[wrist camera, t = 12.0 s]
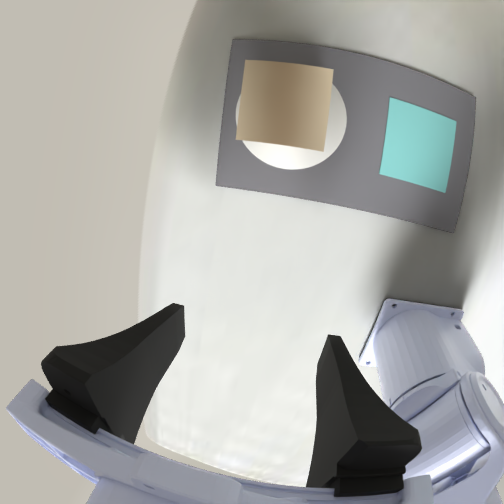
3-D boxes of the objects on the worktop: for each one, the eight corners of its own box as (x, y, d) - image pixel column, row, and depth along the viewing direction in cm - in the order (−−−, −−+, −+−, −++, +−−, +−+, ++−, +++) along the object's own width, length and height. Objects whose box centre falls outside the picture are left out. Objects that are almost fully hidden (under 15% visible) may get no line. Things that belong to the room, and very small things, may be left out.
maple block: (325, 90, 16) (333, 69, 11) (318, 149, 18) (323, 151, 13) (263, 82, 17) (245, 59, 12) (256, 140, 19) (235, 139, 13)
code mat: (473, 97, 14) (476, 97, 13) (451, 231, 19) (454, 233, 18) (233, 41, 16) (232, 39, 16) (217, 185, 21) (215, 185, 21)
